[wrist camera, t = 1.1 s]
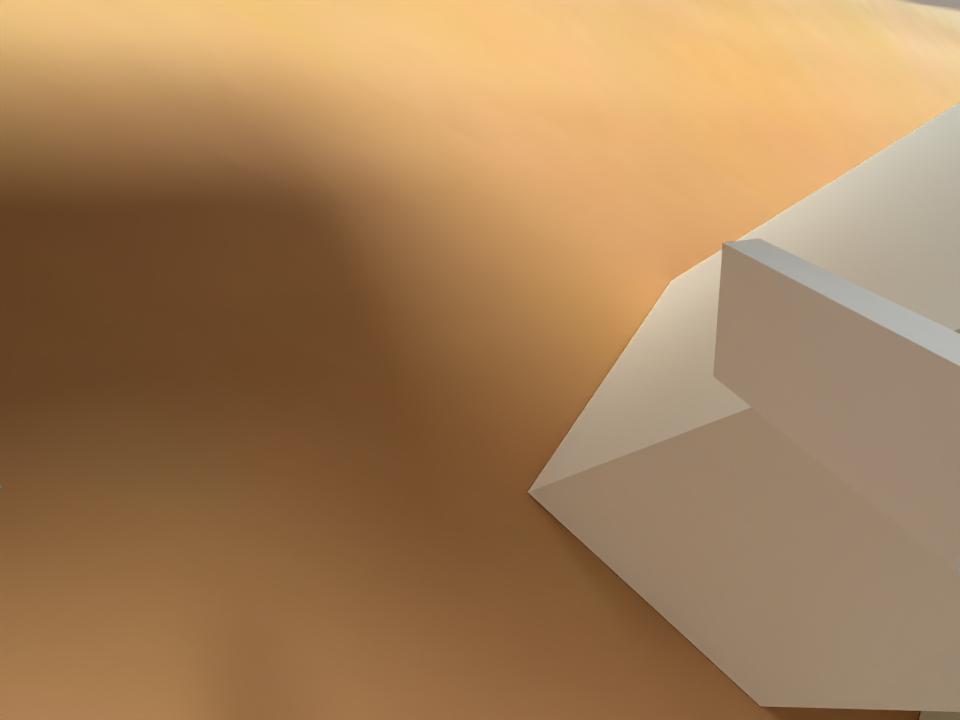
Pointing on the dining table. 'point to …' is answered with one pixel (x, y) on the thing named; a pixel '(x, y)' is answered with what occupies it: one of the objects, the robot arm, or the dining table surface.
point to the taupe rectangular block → (777, 468)
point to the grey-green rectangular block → (939, 715)
